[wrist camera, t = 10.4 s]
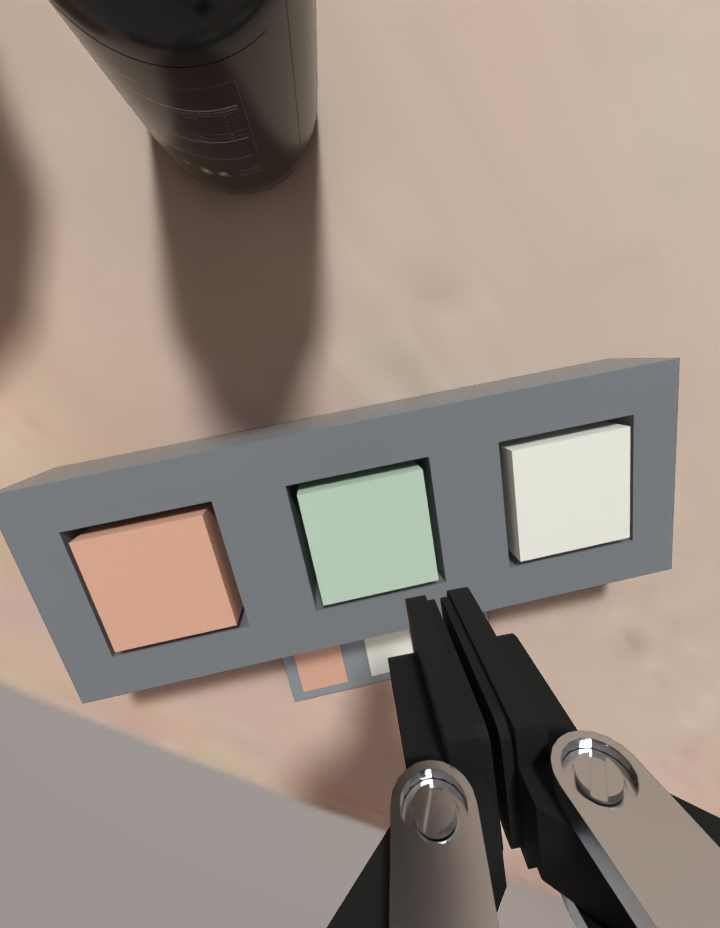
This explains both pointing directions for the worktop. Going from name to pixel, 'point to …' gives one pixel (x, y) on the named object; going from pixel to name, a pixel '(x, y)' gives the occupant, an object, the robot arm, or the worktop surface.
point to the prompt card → (346, 664)
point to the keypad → (283, 533)
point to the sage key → (368, 531)
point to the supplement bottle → (211, 79)
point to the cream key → (566, 489)
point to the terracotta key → (159, 576)
